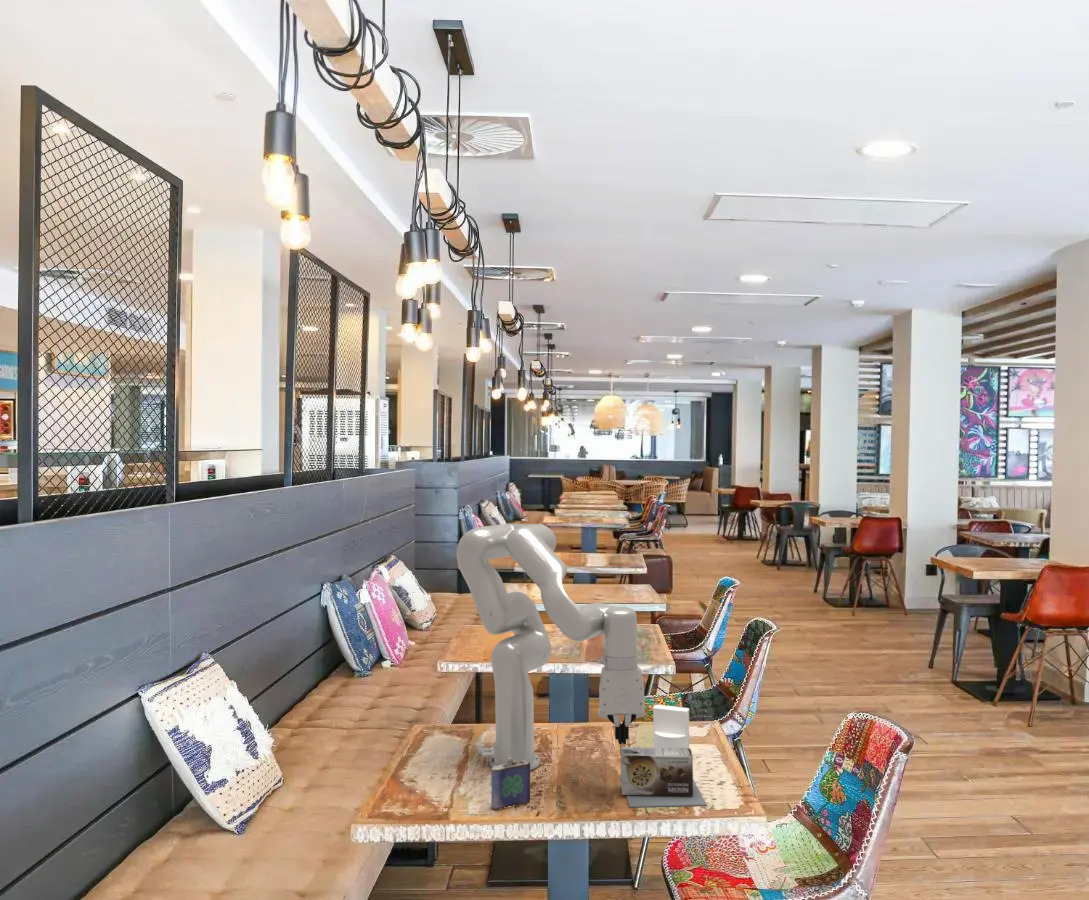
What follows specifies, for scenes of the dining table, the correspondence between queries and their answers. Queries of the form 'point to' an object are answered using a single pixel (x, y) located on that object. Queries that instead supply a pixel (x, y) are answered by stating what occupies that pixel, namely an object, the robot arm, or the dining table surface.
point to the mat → (666, 800)
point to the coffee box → (656, 771)
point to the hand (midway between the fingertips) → (621, 742)
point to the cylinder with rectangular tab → (671, 727)
